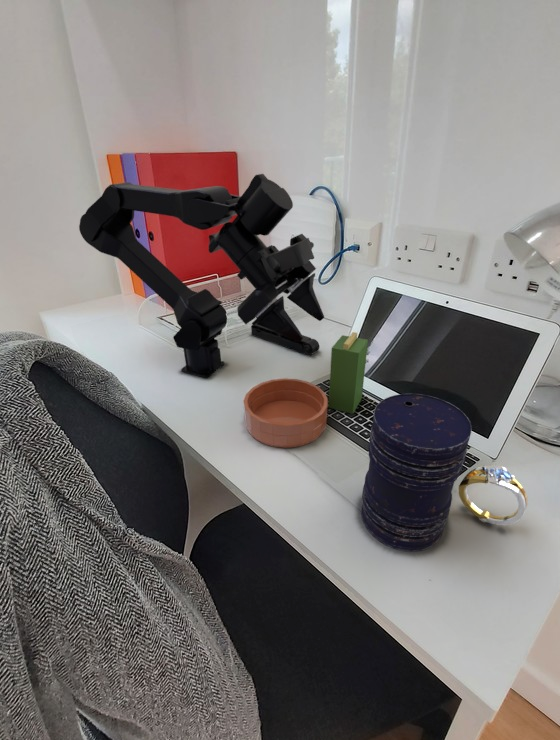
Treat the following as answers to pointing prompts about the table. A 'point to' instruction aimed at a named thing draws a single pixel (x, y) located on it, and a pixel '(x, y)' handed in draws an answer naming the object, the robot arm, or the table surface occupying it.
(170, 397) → the table surface
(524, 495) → the ring
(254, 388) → the bowl
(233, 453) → the table surface
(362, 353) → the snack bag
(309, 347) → the tablet stand
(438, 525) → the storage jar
